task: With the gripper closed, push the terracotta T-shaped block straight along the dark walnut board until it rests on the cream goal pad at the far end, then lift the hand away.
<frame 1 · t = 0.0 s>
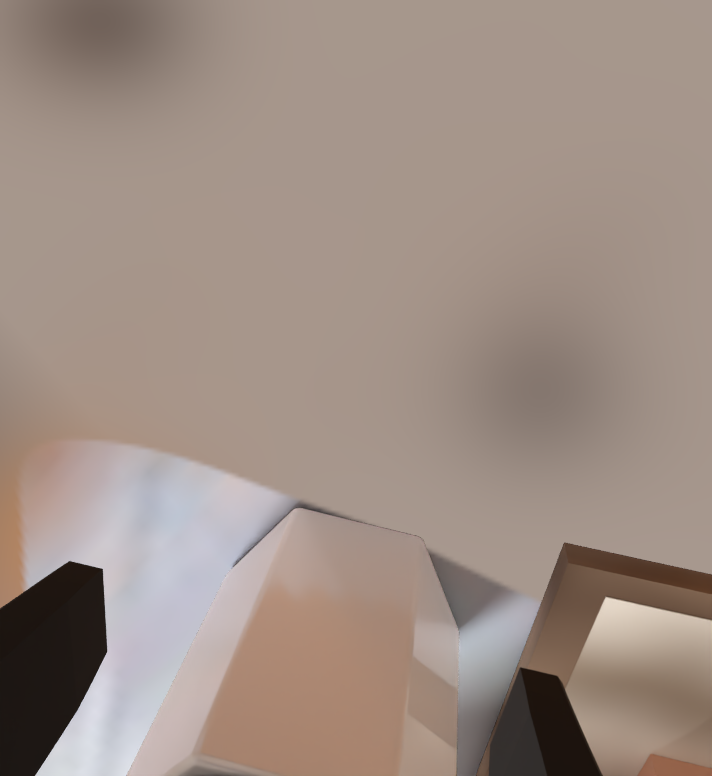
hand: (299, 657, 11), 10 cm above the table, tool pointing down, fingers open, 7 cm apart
jar: (343, 595, 24), on the table
board: (655, 771, 25), on the table
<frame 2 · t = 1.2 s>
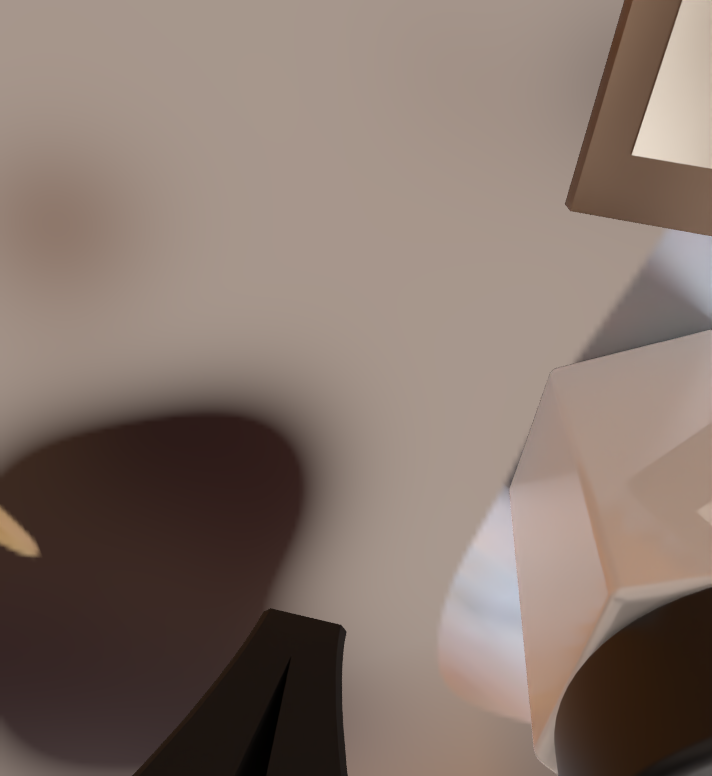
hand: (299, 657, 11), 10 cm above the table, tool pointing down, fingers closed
jar: (651, 455, 20), on the table
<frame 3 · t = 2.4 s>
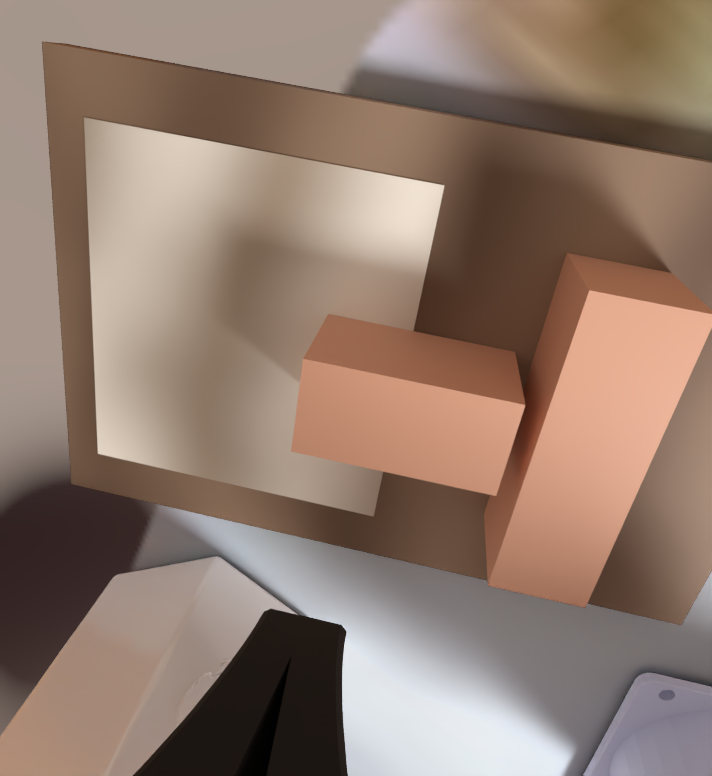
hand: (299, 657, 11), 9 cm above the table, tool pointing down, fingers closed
jar: (212, 634, 25), on the table
t block: (513, 395, 17), point 1 cm above the table, touching board
board: (407, 358, 18), on the table
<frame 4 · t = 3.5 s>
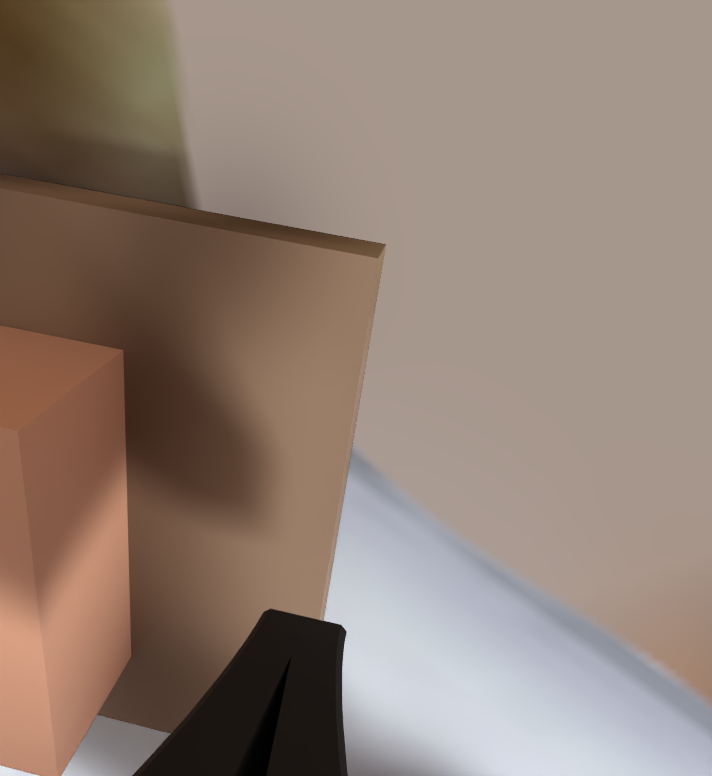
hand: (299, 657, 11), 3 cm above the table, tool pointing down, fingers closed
t block: (7, 497, 13), point 1 cm above the table, touching board
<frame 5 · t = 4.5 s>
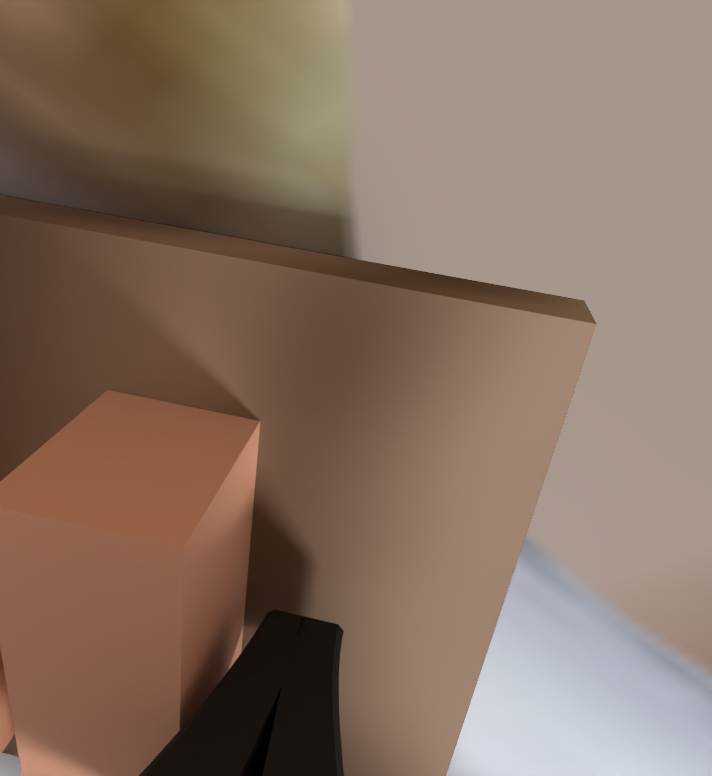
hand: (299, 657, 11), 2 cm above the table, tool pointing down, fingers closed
t block: (105, 575, 12), point 1 cm above the table, touching board, gripper
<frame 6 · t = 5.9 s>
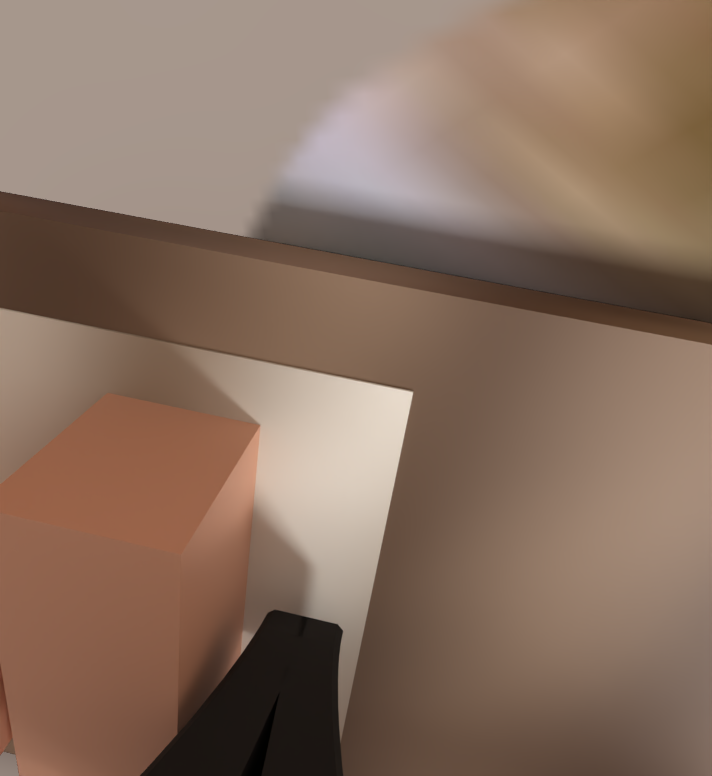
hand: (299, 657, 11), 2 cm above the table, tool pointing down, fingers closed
t block: (105, 578, 12), point 1 cm above the table, touching board, gripper
board: (370, 594, 12), on the table
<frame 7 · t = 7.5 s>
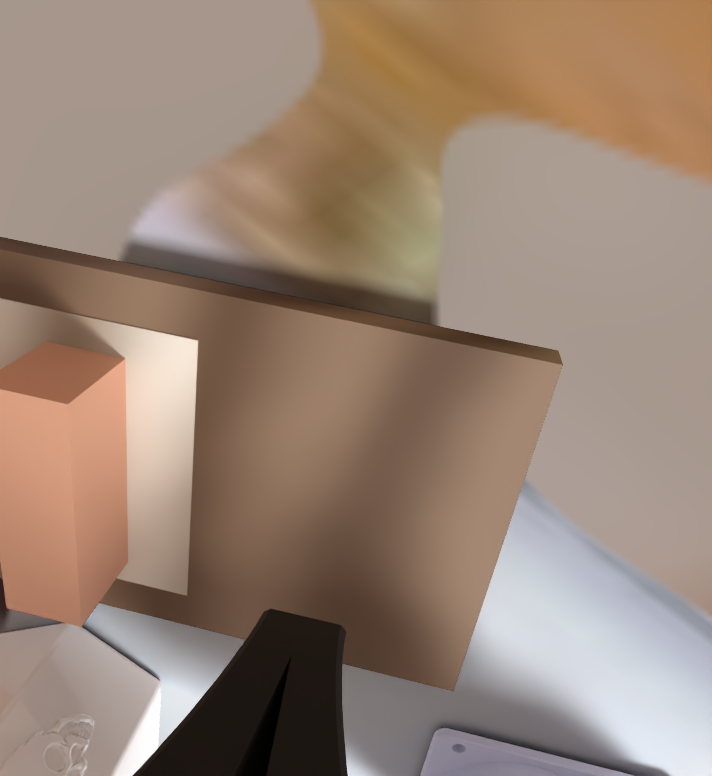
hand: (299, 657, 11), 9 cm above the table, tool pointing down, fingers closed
jar: (80, 686, 28), on the table
t block: (49, 451, 21), point 1 cm above the table, touching board
board: (203, 465, 21), on the table
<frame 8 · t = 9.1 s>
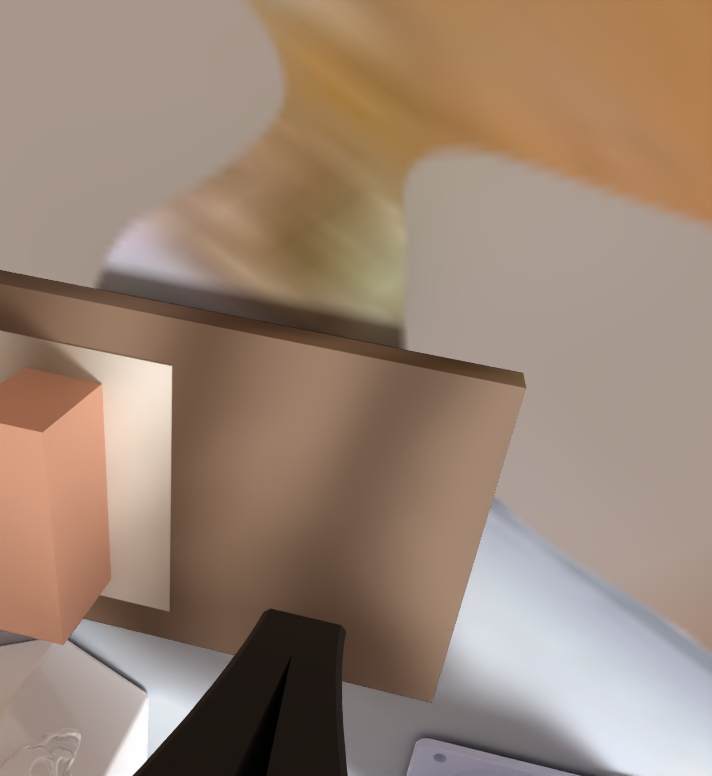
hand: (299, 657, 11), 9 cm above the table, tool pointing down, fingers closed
jar: (69, 698, 28), on the table
t block: (31, 472, 21), point 1 cm above the table, touching board
board: (183, 484, 22), on the table
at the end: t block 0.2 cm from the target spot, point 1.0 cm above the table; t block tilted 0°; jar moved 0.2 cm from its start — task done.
